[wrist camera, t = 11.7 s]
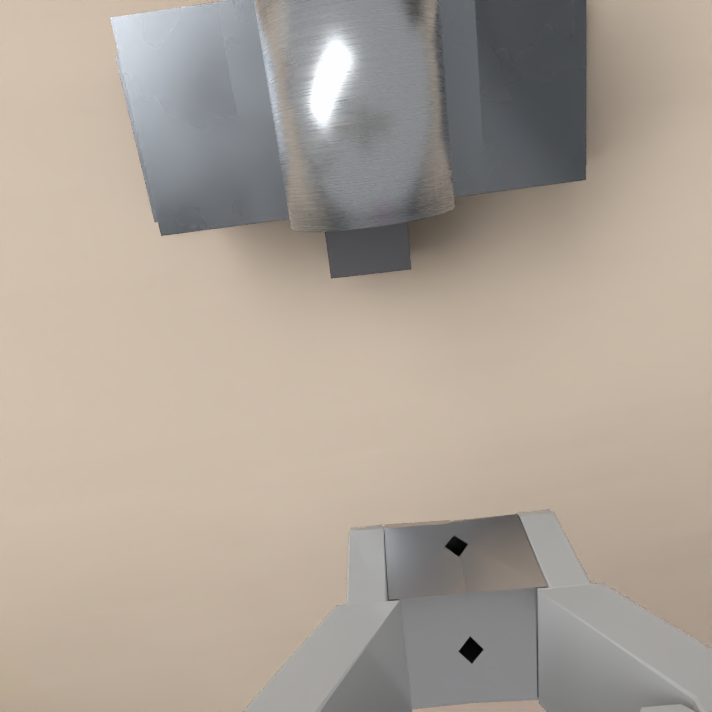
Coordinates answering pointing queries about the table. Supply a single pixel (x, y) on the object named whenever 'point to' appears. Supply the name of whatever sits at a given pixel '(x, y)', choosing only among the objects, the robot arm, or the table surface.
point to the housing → (350, 107)
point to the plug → (368, 250)
